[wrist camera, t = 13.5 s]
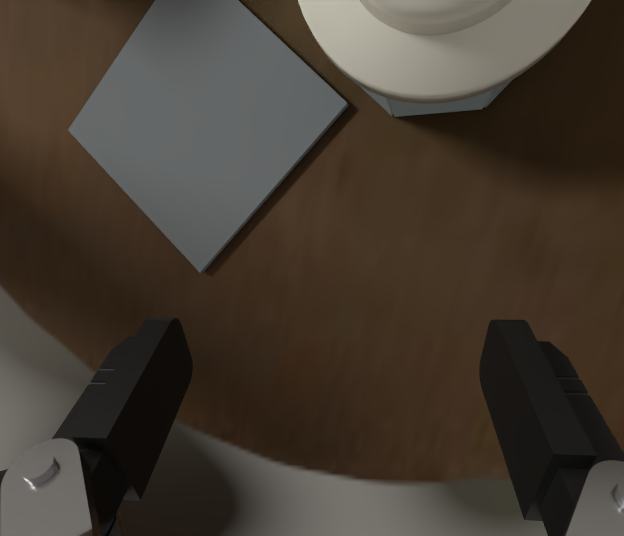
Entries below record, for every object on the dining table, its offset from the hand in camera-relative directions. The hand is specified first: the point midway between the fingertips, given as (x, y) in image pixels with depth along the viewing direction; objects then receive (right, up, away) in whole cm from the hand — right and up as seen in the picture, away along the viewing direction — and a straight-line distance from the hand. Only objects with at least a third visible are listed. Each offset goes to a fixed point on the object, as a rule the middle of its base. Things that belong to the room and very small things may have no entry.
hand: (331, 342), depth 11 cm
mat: (-7, +10, +12) cm, 17 cm away
